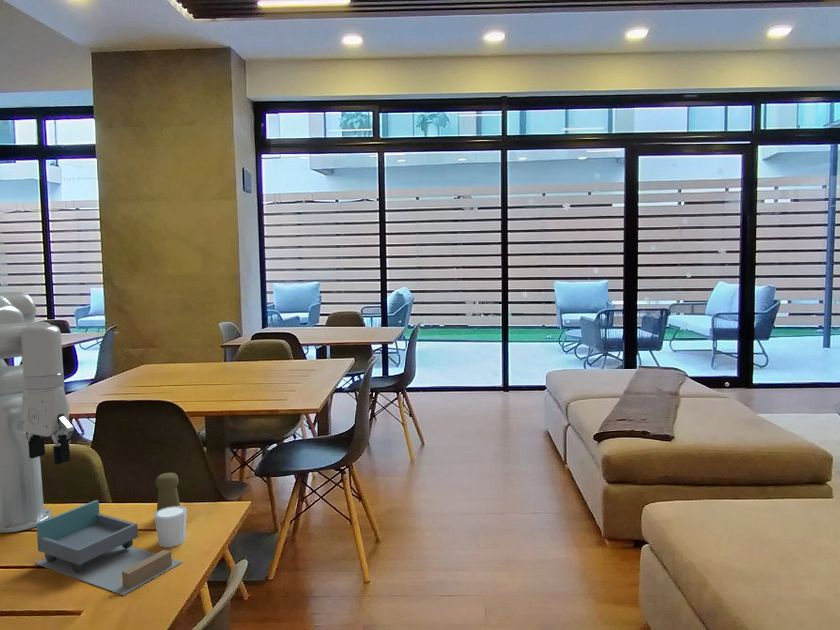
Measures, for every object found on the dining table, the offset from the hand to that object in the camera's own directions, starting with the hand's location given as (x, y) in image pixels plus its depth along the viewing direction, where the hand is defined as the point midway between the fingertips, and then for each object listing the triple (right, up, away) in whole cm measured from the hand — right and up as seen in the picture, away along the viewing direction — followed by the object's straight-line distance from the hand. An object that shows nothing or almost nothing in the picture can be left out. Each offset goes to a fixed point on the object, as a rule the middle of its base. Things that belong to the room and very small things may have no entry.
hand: (49, 459), depth 136 cm
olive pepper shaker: (+20, -18, +16) cm, 31 cm away
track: (+16, -20, -6) cm, 27 cm away
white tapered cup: (+26, -20, +3) cm, 33 cm away
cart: (+11, -20, -4) cm, 23 cm away
